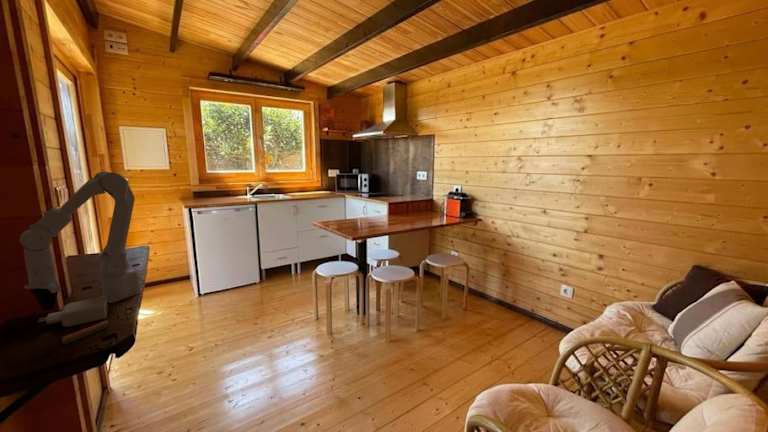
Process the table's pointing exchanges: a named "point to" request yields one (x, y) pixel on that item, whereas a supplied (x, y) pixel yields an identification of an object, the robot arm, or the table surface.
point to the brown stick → (85, 332)
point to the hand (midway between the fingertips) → (48, 309)
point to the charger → (79, 312)
